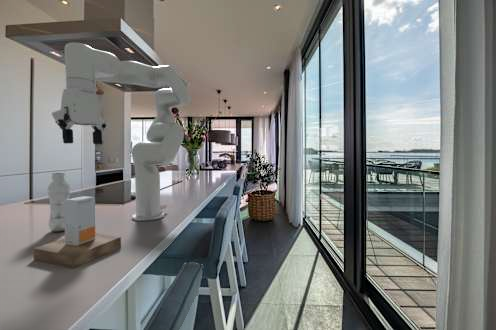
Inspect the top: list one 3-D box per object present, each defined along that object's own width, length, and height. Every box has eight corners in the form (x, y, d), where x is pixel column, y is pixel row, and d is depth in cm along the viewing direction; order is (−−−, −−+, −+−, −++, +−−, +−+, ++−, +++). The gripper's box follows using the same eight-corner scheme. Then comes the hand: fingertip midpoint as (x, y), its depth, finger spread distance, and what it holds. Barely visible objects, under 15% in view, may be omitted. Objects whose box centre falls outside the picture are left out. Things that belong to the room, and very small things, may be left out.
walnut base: (85, 241, 78) (84, 231, 78) (120, 247, 73) (120, 237, 73) (33, 259, 65) (33, 248, 65) (73, 268, 60) (72, 255, 60)
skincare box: (77, 246, 66) (76, 200, 65) (64, 245, 67) (62, 199, 66) (96, 238, 72) (95, 196, 71) (84, 237, 73) (83, 195, 72)
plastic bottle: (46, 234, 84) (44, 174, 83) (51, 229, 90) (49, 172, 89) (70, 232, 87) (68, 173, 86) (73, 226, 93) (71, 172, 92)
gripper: (97, 93, 87) (99, 144, 88) (42, 81, 71) (45, 143, 72) (114, 92, 85) (116, 144, 86) (61, 78, 68) (64, 143, 69)
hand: (83, 143), depth 79 cm, fingers open, 9 cm apart
